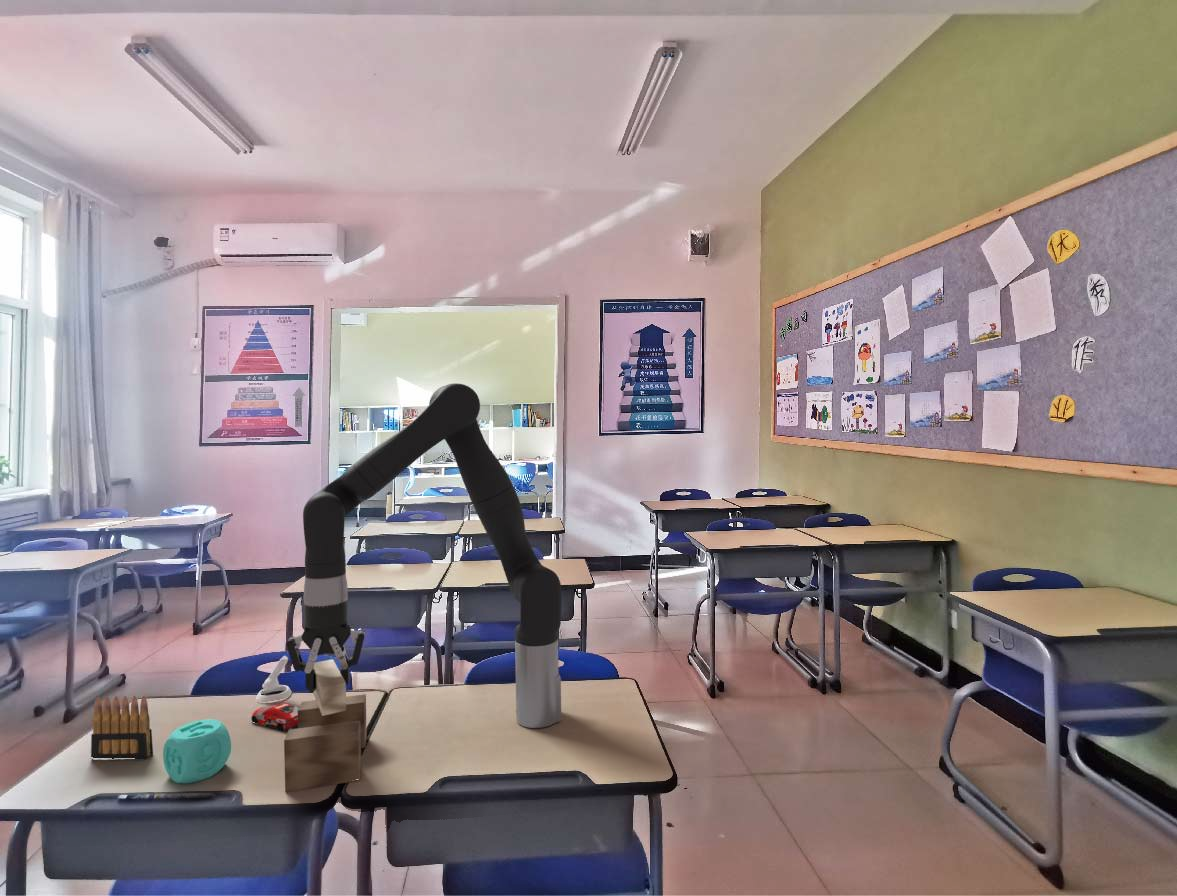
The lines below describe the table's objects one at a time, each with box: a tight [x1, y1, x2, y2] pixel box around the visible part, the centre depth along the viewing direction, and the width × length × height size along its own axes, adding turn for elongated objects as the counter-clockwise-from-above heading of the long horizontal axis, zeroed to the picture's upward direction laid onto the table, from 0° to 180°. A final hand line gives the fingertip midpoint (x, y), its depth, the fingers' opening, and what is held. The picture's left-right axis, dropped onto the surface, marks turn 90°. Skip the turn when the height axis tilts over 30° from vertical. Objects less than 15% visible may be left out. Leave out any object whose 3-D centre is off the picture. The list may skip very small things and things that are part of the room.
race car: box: [250, 702, 299, 732], centre depth 131 cm, size 13×5×4 cm, turn 64°
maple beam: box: [313, 659, 347, 716], centre depth 114 cm, size 4×14×5 cm, turn 32°
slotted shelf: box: [283, 694, 368, 793], centre depth 114 cm, size 12×16×9 cm
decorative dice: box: [162, 718, 232, 784], centre depth 112 cm, size 8×8×8 cm
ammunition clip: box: [90, 695, 154, 760], centre depth 117 cm, size 11×2×12 cm, turn 91°
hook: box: [255, 655, 293, 702], centre depth 144 cm, size 8×12×7 cm
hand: (327, 688), depth 114 cm, fingers closed on maple beam, 4 cm apart
